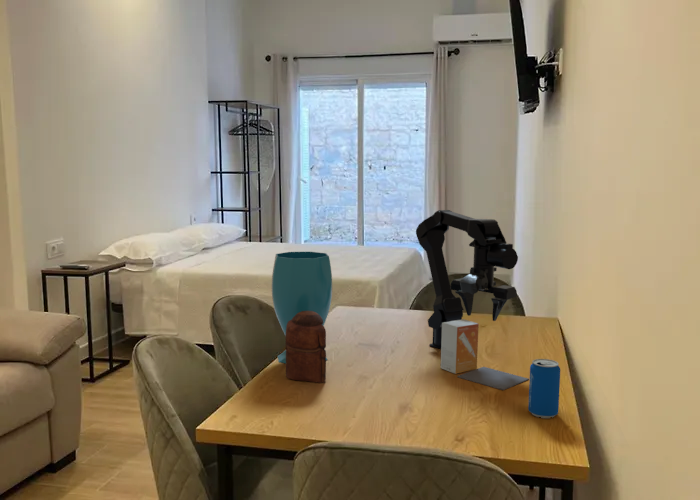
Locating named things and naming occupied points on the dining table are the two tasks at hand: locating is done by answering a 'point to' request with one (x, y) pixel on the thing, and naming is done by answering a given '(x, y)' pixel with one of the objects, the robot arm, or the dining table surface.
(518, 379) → the mat
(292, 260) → the vase
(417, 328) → the dining table surface
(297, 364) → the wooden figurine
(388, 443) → the dining table surface
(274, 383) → the dining table surface
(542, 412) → the beverage can
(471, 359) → the small box
